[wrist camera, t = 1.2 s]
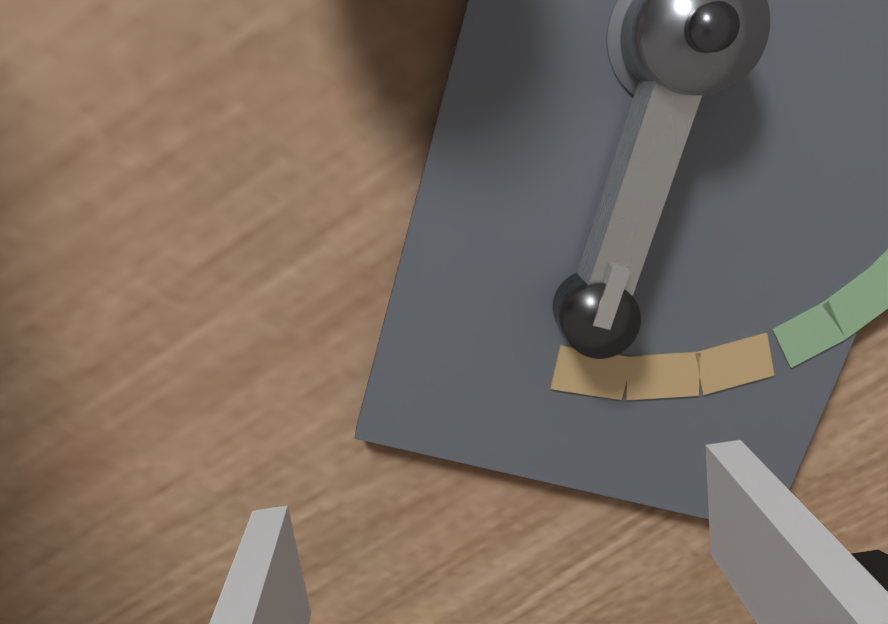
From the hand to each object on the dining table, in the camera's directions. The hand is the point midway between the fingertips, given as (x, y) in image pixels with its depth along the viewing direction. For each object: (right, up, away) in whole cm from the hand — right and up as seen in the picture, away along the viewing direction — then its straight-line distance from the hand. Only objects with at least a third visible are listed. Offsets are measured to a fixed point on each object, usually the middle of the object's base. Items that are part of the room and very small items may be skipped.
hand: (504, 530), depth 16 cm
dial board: (+9, +8, +16) cm, 20 cm away
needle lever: (+6, +11, +14) cm, 18 cm away
